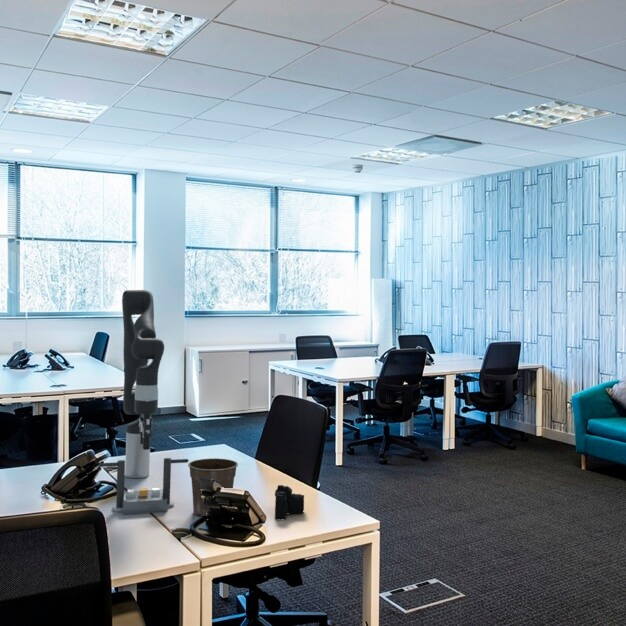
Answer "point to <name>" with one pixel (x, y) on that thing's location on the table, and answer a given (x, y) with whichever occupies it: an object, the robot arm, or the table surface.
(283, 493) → the film camera
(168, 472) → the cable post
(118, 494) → the cable post
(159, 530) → the table surface
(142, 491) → the orange matte cube
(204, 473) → the plant pot
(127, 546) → the table surface
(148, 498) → the grey block holder
